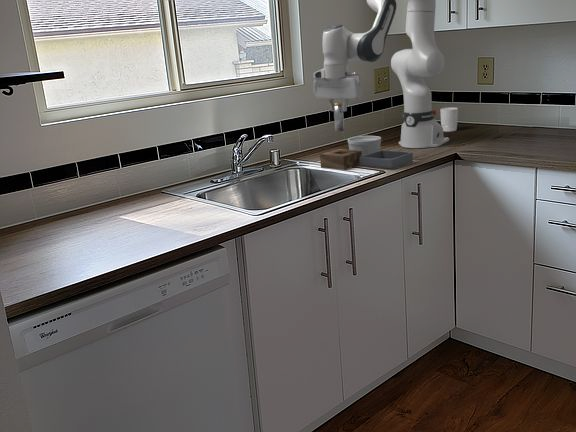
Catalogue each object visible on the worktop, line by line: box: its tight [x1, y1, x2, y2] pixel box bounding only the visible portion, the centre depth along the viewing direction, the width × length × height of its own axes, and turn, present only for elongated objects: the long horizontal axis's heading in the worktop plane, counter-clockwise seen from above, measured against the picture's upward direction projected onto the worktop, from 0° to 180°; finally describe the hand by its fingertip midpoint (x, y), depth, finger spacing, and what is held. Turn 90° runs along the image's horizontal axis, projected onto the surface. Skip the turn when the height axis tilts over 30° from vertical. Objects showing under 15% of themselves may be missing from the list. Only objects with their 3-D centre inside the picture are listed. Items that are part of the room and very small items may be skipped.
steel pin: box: [333, 102, 345, 132], centre depth 232 cm, size 3×3×10 cm
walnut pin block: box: [319, 148, 362, 171], centre depth 236 cm, size 11×11×5 cm
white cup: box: [439, 107, 459, 133], centre depth 291 cm, size 8×8×10 cm
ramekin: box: [347, 135, 382, 156], centre depth 251 cm, size 13×13×7 cm
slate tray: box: [359, 149, 414, 170], centre depth 233 cm, size 14×14×4 cm
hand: (338, 111), depth 231 cm, fingers closed on steel pin, 3 cm apart
